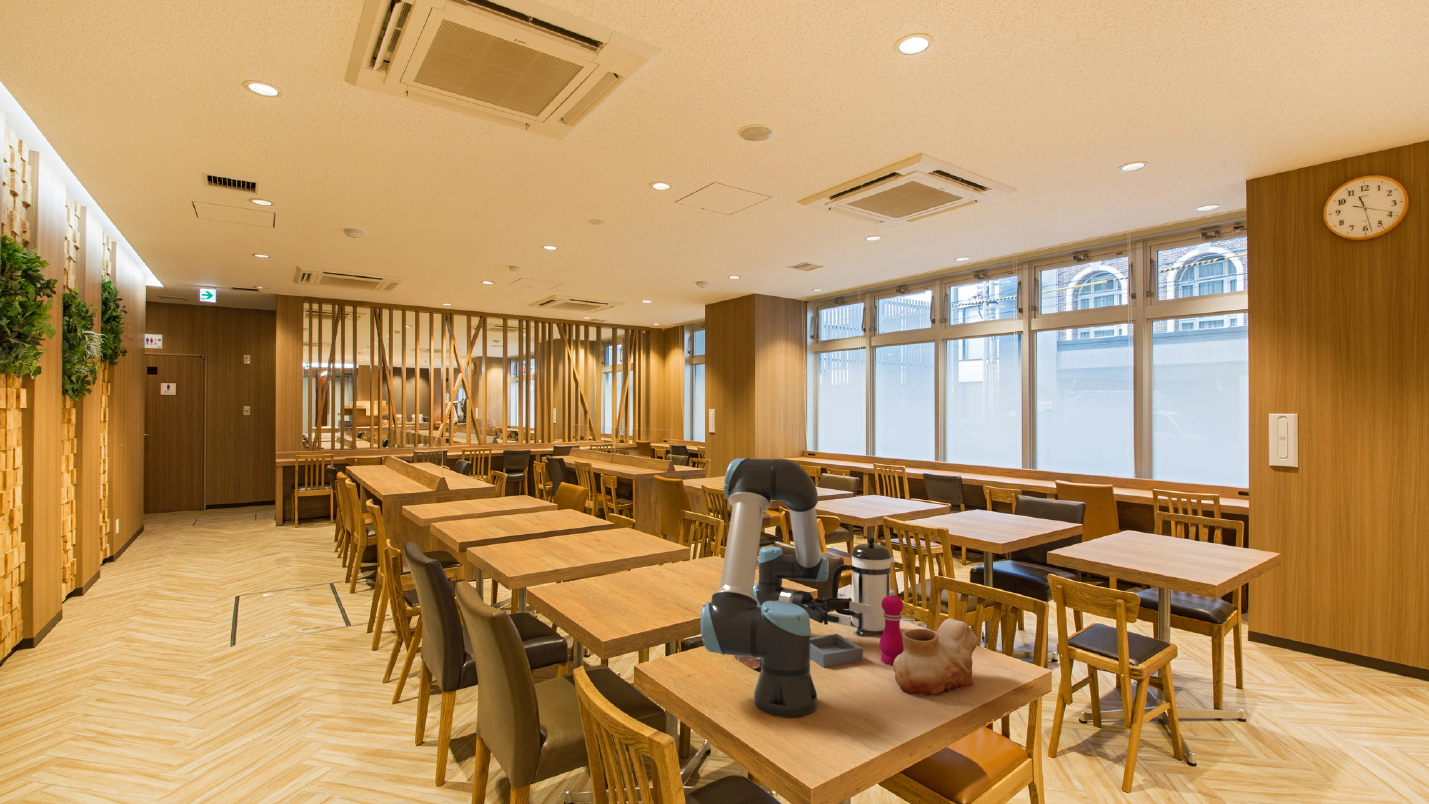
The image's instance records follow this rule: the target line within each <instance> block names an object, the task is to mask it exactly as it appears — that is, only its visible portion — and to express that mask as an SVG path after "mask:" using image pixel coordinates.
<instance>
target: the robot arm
mask: <svg viewBox="0 0 1429 804" xmlns="http://www.w3.org/2000/svg"><path fill="white" fill-rule="evenodd" d="M723 493H724V496H725V497H726V499H728V504H729V506H731V509H732V510H731V515H730V522H729V529H728V534H727V539H726V544H725V545H726V546H725V552H724V558H723V565H722V570H721V571H722V572H721V575H720V576H721V577H720V582H719V589H717V590H716V591H714V592H713V593H712V596H711V601H709V602H708V601H707V602H705V603H704V604H703V605H702V608H701V611H700V633H701V634H700V635H701V639H702V643H703V646H704V648H705V649H706V650H707V651H708V652H709V653H715V654H720V655H723V656H725V655H728V656H729V655H731V656H734V655H737V656H747V657H756V658H761V661H762V668H760V669H761V670H760V674H759V676H758V679H757V683H756V686H755V689H754V692H753V696H754V697H753V703H754V706H755V707H756V708H757V709H758V710H760V711H761V712H763V713H764V714H767V715H770V716H773V717H774V716H775V717H781V718H798V717H804V716H807V715H810V714H811V713H814V711H816V709H817V708H818V693H817V691H816V688H815V687H816V686H815V683H814V681H813V678H812V674H811V659H810V638H811V634H812V629H811V623H810V622H811V621H810V620H812V621H815V622H817V623H819V624H823V625H825V626H827V625H828V624H829V623H832V624H838V625H842V626H845V627H846V626H847V627H851V621H852V616H848V615H843V614H839V613H837V612H832V611H830V610H834V611H835V609H844V610H849V611H854V612H859V613H864V614H869V615H870V614H871V605H868V604H863V603H857V602H852V597H848V598H844V597H838V598H832V597H827V596H820V597H818V598H817V597H816V598H814V597H813V595H812V594H811V592H809V591H805V590H799V589H796V588H791V587H790V588H789V587H784V586H782V585H783V580H785V579H786V580H795V581H796V580H798V581H808V582H826V581H827V580H828V578H829V573H830V571H829V569H830V567H829V566H830V563H829V558H828V557H826V556H822V555H821V546H820V538H819V528H818V527H819V526H818V520H817V510H816V509H817V508H816V506H817V504H818V502H819V496H818V495H819V494H818V489H817V486H816V484H815V482H814V480H813V478H812V477H811V475H809V473H808V472H807V470H805V469H804V468H803V467H802V466H800V465H799V463H796V462H795V461H793V460H789V459H784V458H783V459H782V458H776V459H775V458H750V457H744V458H734V459H733V460H732V461H731V462H729V465H728V466H727V469H726V472H725V475H724V484H723ZM771 501H772V502H773V501H777V502H784V504H785V507H786V508H787V509H788V510H789V511H788V512H789V518H790V525H791V531H792V539H793V545H794V551H795V554H786V553H785V554H784V552H783V549H782V547H779V546H773V545H769V546H763V547H761V548H760V541H761V532H762V525H763V516H764V513H765V512H766V511H768V510H769V508H770V506H771ZM758 555H759V556H758ZM757 562H758V563H757ZM757 564H758V582H755V579H756V578H755V577H756V571H757Z"/></svg>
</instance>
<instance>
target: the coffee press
mask: <svg viewBox="0 0 1429 804" xmlns="http://www.w3.org/2000/svg"><path fill="white" fill-rule="evenodd" d="M875 541H876V539H875V538H874V537H872V536H869V537H868V538H867V542H868V543H860V544H857V545H855V546H854V547H853V548H852V550H851V551H850V556H851V563H850V564H840V565H838V566H837V567H836V568H835V569H834V571H833V573H832V576H831V578H832V579H831V598H839V597H838V588H839V587H838V583H839V582H838V580H839V575H840V574H841V573H842V572H845V571H851V599H852V602H857V603H863V604H868V605H871V614H870V615H869V614H864V613H859V612H854V611H849V609H834V611H835V613H838V614H843V615H847V616H851V626H852V627H855V628H856V633H855V634H856V635H857V636H859V637H862V636H863V634H864V632H866V631H867V632H883V631H884V628H885V618H883V616H884V614H883V612H885V611H884V610H883V608H882V605H881V604H882V600H883V598H884V597H885V596H888V595H890V594H889V592H890V591H891V573H892V565H891V564H892V563H896V559H894V558H893V556H892V553H891V551H890V549H889V548H888V547H886V545H885V546H884V545H882V544H879V543H875ZM851 626H850V627H851Z"/></svg>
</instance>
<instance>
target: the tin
mask: <svg viewBox="0 0 1429 804" xmlns="http://www.w3.org/2000/svg"><path fill="white" fill-rule="evenodd" d="M733 657H734V658H735V659H736V660H737V662H740V663H742V664H744V665H746V666H747V667H748V666H749V667H748V668H751V670H756V669H761V668H762V661H761V658H756V657H747V656H737V655H733Z"/></svg>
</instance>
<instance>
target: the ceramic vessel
mask: <svg viewBox="0 0 1429 804" xmlns="http://www.w3.org/2000/svg"><path fill="white" fill-rule="evenodd" d="M901 634H902V640H903V646H904V651H903V652H902V653H901V654H899V655H898V656H897V657H896V658H895V660H894V663H893V665H892V667H893V672H894V677H895V678H894V679H895V682H896V684H897V685H898V686H899V690H900V689H901V692H902V693H906V694H910V695H923V696H927V697H935V696H942V695H943V694H946V693H947V692H948V693H949V692H950V691H951V692H952V691H955V690H958V689H962V688H968V687H967V686H969V687H974V686H975V680H974V677H973V675H972V674H973V658H972V657H973V653H974V650H975V649H976V648H977V646H978V645H979V641H978V637H977V635H976V634H975V632H974V631H973V628H972V627H971V626H969V625H968V624H967V623H966V622H964V621H961V620H958V619H957V620H956V619H954V618H953V617H950V618H946V619H945V620H943V621H942V622H941V623H940V625H939V627H938V629H937V630H936V631H934V630H932V629H928V628H913V629H907V630H905V631H903V632H901Z"/></svg>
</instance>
